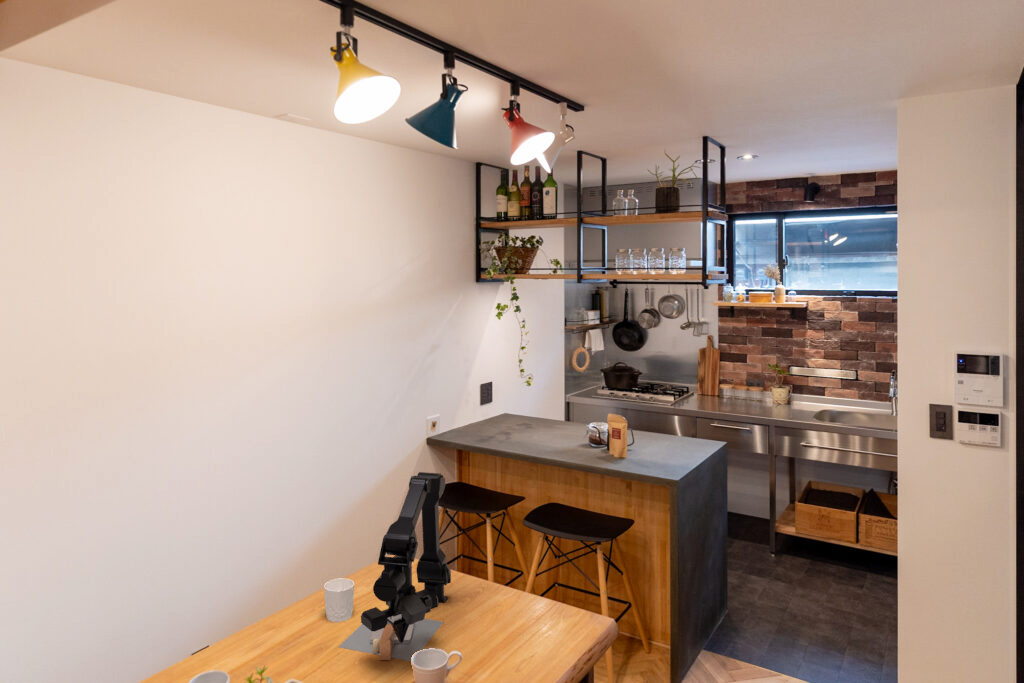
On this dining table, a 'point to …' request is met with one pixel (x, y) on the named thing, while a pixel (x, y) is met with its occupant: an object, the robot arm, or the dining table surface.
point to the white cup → (339, 599)
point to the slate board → (400, 651)
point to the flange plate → (390, 640)
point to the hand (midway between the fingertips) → (401, 642)
